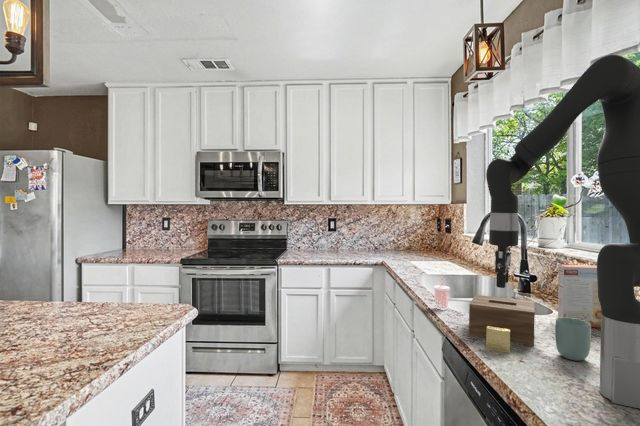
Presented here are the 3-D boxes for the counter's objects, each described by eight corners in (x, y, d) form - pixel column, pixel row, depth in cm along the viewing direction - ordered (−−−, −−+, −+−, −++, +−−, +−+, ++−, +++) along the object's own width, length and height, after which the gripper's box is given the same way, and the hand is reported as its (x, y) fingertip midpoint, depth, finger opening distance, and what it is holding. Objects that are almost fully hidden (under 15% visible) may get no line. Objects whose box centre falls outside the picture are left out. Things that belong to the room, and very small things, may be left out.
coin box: (534, 346, 109) (534, 312, 109) (468, 335, 118) (469, 303, 118) (533, 331, 122) (534, 301, 122) (475, 322, 131) (475, 294, 131)
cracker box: (601, 324, 131) (602, 265, 130) (610, 329, 125) (611, 267, 125) (556, 320, 134) (557, 263, 134) (563, 325, 128) (564, 265, 128)
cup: (574, 365, 96) (575, 326, 95) (548, 353, 103) (549, 318, 103) (597, 362, 98) (598, 324, 98) (570, 351, 105) (570, 316, 105)
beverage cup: (441, 312, 144) (442, 276, 144) (430, 308, 149) (430, 273, 149) (452, 310, 147) (453, 275, 147) (441, 306, 152) (441, 272, 152)
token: (509, 353, 103) (509, 332, 103) (486, 349, 106) (486, 328, 106) (510, 350, 105) (510, 329, 105) (487, 346, 108) (487, 325, 108)
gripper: (516, 230, 98) (515, 291, 98) (520, 228, 110) (519, 282, 110) (485, 229, 102) (484, 287, 102) (492, 227, 114) (491, 279, 114)
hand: (502, 284), depth 106 cm, fingers open, 8 cm apart
